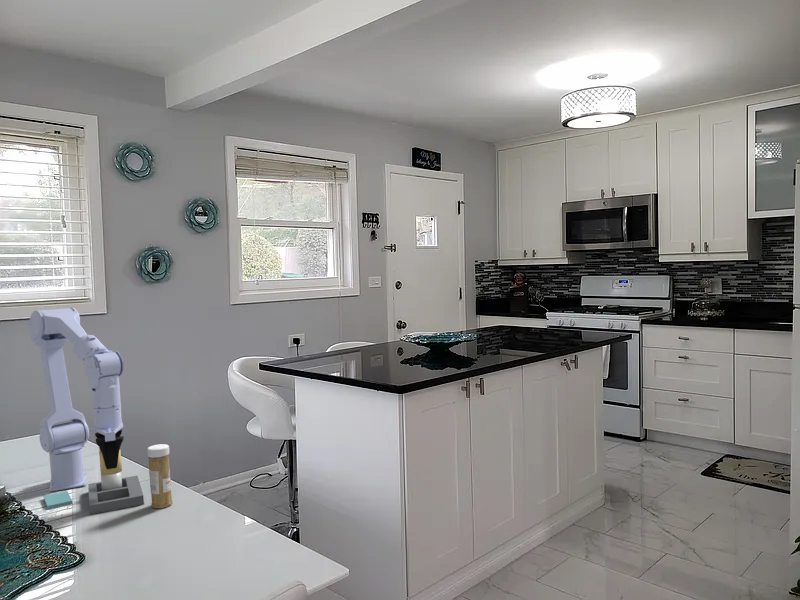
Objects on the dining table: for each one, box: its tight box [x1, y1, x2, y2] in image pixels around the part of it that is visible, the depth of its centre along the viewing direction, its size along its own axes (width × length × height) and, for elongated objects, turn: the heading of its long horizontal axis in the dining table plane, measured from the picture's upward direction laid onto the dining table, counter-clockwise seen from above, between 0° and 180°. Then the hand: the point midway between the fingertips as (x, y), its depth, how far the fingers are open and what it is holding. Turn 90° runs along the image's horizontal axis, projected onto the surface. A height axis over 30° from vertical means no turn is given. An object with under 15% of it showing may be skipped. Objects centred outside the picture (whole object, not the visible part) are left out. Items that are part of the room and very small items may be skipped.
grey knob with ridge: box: [100, 471, 123, 491], centre depth 152 cm, size 4×4×6 cm
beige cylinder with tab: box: [98, 447, 123, 476], centre depth 145 cm, size 4×4×6 cm
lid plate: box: [43, 490, 73, 510], centre depth 148 cm, size 8×5×1 cm, turn 35°
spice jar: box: [146, 443, 173, 509], centre depth 143 cm, size 5×5×14 cm
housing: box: [87, 475, 145, 515], centre depth 149 cm, size 16×11×2 cm
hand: (111, 465), depth 145 cm, fingers closed on beige cylinder with tab, 4 cm apart
